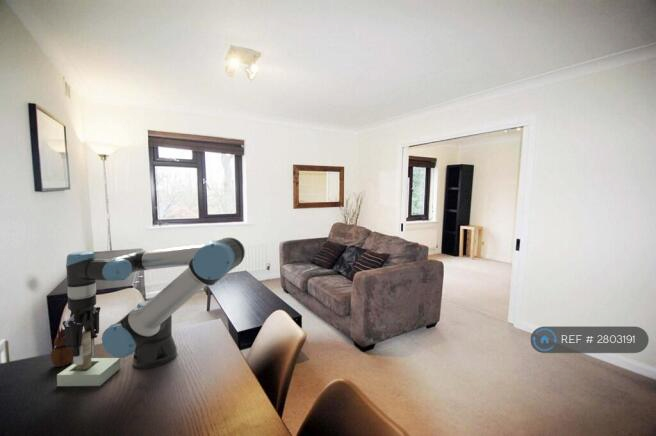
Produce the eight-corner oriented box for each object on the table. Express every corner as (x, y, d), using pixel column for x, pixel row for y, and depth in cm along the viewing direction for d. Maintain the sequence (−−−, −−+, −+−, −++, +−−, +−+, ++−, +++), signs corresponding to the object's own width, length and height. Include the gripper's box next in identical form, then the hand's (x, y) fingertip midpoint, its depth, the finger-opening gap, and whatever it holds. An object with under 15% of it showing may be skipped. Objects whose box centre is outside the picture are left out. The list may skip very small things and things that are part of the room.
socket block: (120, 368, 105) (120, 357, 105) (100, 385, 95) (99, 374, 95) (81, 368, 104) (81, 358, 104) (57, 386, 94) (56, 374, 94)
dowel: (94, 370, 102) (93, 330, 101) (85, 377, 98) (84, 335, 97) (83, 370, 102) (81, 330, 101) (73, 377, 98) (72, 335, 97)
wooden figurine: (59, 370, 103) (58, 331, 102) (47, 368, 104) (45, 329, 103) (79, 360, 110) (78, 323, 109) (67, 358, 111) (66, 321, 110)
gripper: (90, 288, 106) (92, 347, 108) (47, 304, 89) (50, 375, 91) (110, 288, 107) (112, 347, 108) (72, 305, 90) (74, 374, 91)
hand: (84, 359), depth 99 cm, fingers closed on dowel, 4 cm apart
